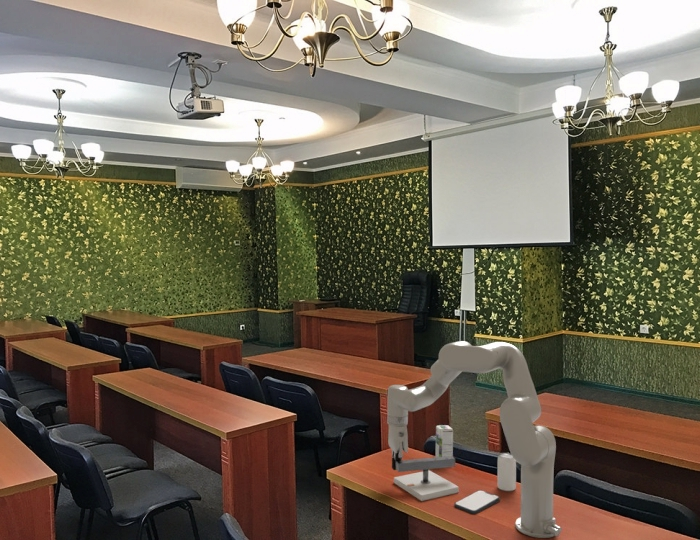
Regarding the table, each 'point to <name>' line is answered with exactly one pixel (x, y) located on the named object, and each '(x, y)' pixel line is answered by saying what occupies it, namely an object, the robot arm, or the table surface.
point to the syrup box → (444, 441)
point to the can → (506, 472)
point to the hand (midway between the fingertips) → (396, 468)
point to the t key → (425, 464)
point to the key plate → (426, 485)
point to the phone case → (477, 502)
